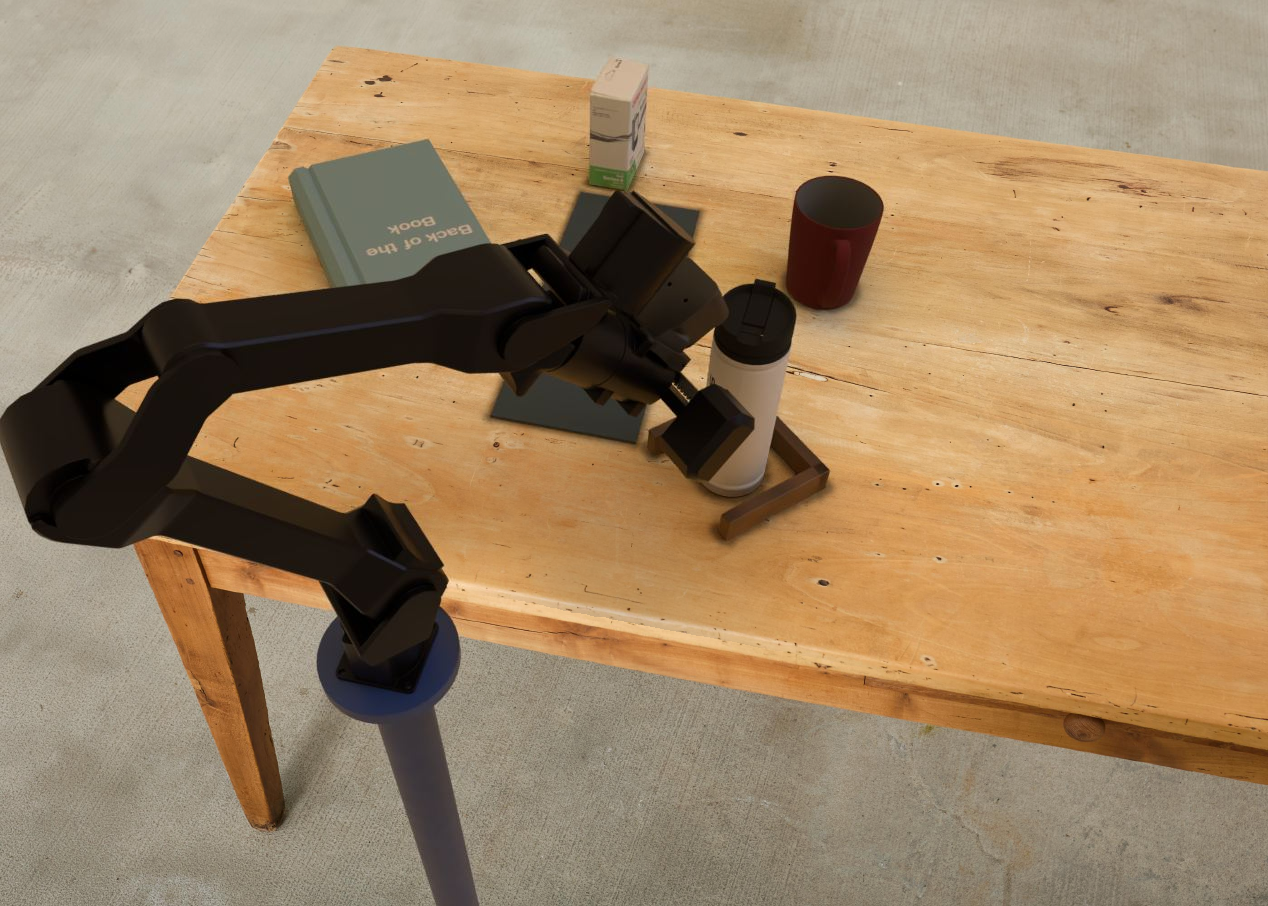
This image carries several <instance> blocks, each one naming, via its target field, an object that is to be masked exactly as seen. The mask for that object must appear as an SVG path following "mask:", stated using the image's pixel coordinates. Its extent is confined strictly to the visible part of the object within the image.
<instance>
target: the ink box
mask: <svg viewBox="0 0 1268 906" xmlns="http://www.w3.org/2000/svg"><path fill="white" fill-rule="evenodd" d="M649 70H650V65H649V64H647V63H643V62H637V61H632V60H627V59H622V58H617V57H609V58H608V59H607V60H606V63H605V64H604V66H603V67H602V69H601V71H600V72H599V74H598V76H597V77H596V79H595V81H594V82H593V84H592V86H591V87H590V92H589V141H588V142H589V146H588V147H589V150H588V151H589V153H588V156H589V157H588V166H589V167H588V169H589V171H588V175H589V177H588V178H589V179H588V182H589V185H593V186H597V187H598V186H599V187H602V188H603V187H604V188H609V189H616V190H621V191H622V190H623V191H624V190H627V191H629V188H630V185H631V183H632V182H633V179H634V176H635V175H636V171H637V170H638V167H639V165H640V163H641V160H642V158H643V156H644V154H645V140H646V138H645V137H646V124H647V123H646V122H647V104H648V103H647V102H648V85H649Z"/></svg>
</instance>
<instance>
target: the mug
mask: <svg viewBox="0 0 1268 906" xmlns="http://www.w3.org/2000/svg"><path fill="white" fill-rule="evenodd" d="M793 198H794V199H793V205H792V212H791V220H790V228H789V229H790V230H789V240H788V249H787V250H788V251H787V262H786V276H785V287H786V290H787V292H788V293H789V295H790V297H792V298H793V299H794V300H795V301H797V302H798V303H800V304H802V305H804V306H805V307H806V306H807V307H809V308H812V309H818V310H833V309H838V308H841V307H844V306H845V305H847V304H848V303H849V302H850V301H852V299H853V297H854V295H855V293H856V290H857V288H858V286H859V282H860V280H861V277H862V274H863V273H864V269H865V266H866V264H867V262H868V259H869V256H870V255H871V254H870V253H871V250H872V247H873V246H874V242H875V240H876V237H877V235H878V231H879V229H880V225H881V222H882V218H883V215H884V210H885V205H884V200H883V199H882V197H881V195H880V194H879V193H878V192H877V191H876V190H875V189H874V188H872V186H869V185H868V184H866V183H864V182H863V181H860V180H858V179H855V178H851V177H847V176H843V175H822V176H821V175H820V176H815V177H813V178H810V179H808V180H805V181H804V182H803V183H801V184H800V185H799V186H798V187H797V189H796V191H795V193H794V197H793Z"/></svg>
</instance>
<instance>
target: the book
mask: <svg viewBox="0 0 1268 906" xmlns="http://www.w3.org/2000/svg"><path fill="white" fill-rule="evenodd" d="M287 179H288V184H289V188H290V191H291V195H292V199H293V203H294V205H295V207H296V209H297V212H298V214H299V217H300V219H301V221H302V224H303V225H304V228H305V230H306V232H307V235H308V236H309V239H310V242H311V244H312V246H313V249H314V251H315V253H316V255H317V258H318V260H319V262H320V265H321V267H322V269H323V272H324V274H325V276H326V278H327V280H328V283H329V286H330V288H335V287H343V286H352V285H360V284H368V283H376V282H385V281H393V280H398V279H401V278H405V277H409V276H412V275H414V274H415V273H416V272H417V271H418V270H420V269H421V268H422V267H423V266H424V265H425V264H427V263H428V262H429V261H430V260H431V259H432V258H434V257H436V256H438V255H442V254H446V253H449V252H453V251H457V250H461V249H464V248H468V247H472V246H476V245H480V244H485V243H492V242H491V240H490V238H489V236H488V235H487V233H486V232H485V230H484V228H483V227H482V225H481V223H480V221H479V219H478V218H477V217H476V215H475V214H474V212H473V210H472V208H471V207H470V206H469V204H468V202H467V200H466V199H465V197H464V195H463V193H462V192H461V190H460V188H459V187H458V185H457V184H456V182H455V180H454V179H453V177H452V175H451V173H450V172H449V170H448V169H447V167H446V165H445V164H444V162H443V160H442V158H441V157H440V155H439V154H438V152H437V150H436V149H435V147H434V145H433V144H432V142H431V140H430V138H426V139H421V140H417V141H412V142H407V143H403V144H399V145H394V146H390V147H385V148H381V149H375V150H371V151H367V152H362V153H358V154H354V155H349V156H345V157H340V158H335V159H331V160H327V161H322V162H317V163H313V164H310V165H309V167H308V168H307V167H305V166H300V167H299V166H298V167H296V168H295V167H294V169H293V170H292V171H291V173H290V174H289V175H288V176H287Z"/></svg>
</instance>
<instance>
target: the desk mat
mask: <svg viewBox="0 0 1268 906" xmlns="http://www.w3.org/2000/svg"><path fill="white" fill-rule="evenodd" d="M610 197H611V195H605V194H604V195H603V194H596V193H592V192H591V193H590V192H585V191H580V192H579V194H578V198H577V199H576V202H575V203H574V204H575V205H574V207H573V210H572V212H571V215H570V217H569V219H568V222H567V224H566V227H565V229H564V231H563V233H562V237H561V239H560V241H559V244H558V245H559V246H560V247H562V248H564V249H565V250H567V251H569V252H572V251H573V249H574V248H575V247H576V245H577V244H578V243H579V241H580V240H581V239H582V237H583V236H584V235H585V233H586V232H587V231H588V230H589V228H590V227H591V226H592V224H593V223H594V222H595V220H596V219H597V217H598V216H599V214H600V212H601V211H602V209H603V207H604V205H605V204H606V202H607V201H608V200H609V198H610ZM651 203H652V202H651ZM652 204H654V205H655V206H656V207H657V208H659V209H660V210H661V211H662V212H664V213H665V214H666V215H667V216H669V217H670V218H671V219H672V220H673V221H674V222H676V223H677V224H678V225H679V226H680V227H681V228H682V229H683V230H684V231H685V232H686V233H688V235H689V236H690V237H691V238H692V239H694V234H695V230H696V227H697V223H698V219H699V216H700V210H696V209H691V208H684V207H679V206H678V207H677V206H673V205H667V204H659V203H654V202H653V203H652ZM685 257H689V253H688V254H687V255H686V256H685ZM541 287H542V288H543V289H544V290H545V291H547V290H550V289H549V288H548V287H547V285H546V284H545V283H544V282H542V285H541ZM646 409H647V405H646V406H645V408H644V409H643V410H642V411H641V412H640V414H639V415H638V416H637V417H633V416H630V415H628V414H627V413H626V411H625V410H624V409H623V408H622V407H621V406H620V405H619V403H618V402H617V401H616V400H615V399H613V398H609V400H608V401H607V402H606V403H605V405H604V406H602V405H599V404H596V403H594V401H593V400H592V399H591V398H590V397H589V395H588V394H587V393H586V392H585V391H584V389H583V388H582V387H580V386H577V385H575V384H572V383H569V382H566V381H564V380H561V379H558V378H556V377H553V376H550V375H547V374H545V373H542V374H541V375H540V376H539V377H538V379H537V380H536V381H535V383H534V384H533V385H532V386H531V388H530V389H529V390H528V392H527V393H526V394H525V395H524V396H523V397H517V396H516V395H515V394H514V392H513V391H512V390H511V389H510V387H509V386H508V385H507V383H506V382H505V381H504V380H503V383H502V385H501V387H500V390H499V393H498V395H497V397H496V400H495V402H494V405H493V408H492V410H491V412H490V414H489V416H490V417H489V418H491V419H497V420H498V419H499V420H503V421H508V422H509V421H510V422H513V423H514V422H515V423H521V424H526V425H531V426H535V427H542V428H547V429H553V430H557V431H563V432H568V433H574V434H579V435H585V436H590V437H595V438H602V439H607V440H612V441H618V442H624V443H627V444H628V443H629V444H635V445H636V444H637V441H638V437H639V433H640V430H641V426H642V423H643V418H644V415H645V411H646Z"/></svg>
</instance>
